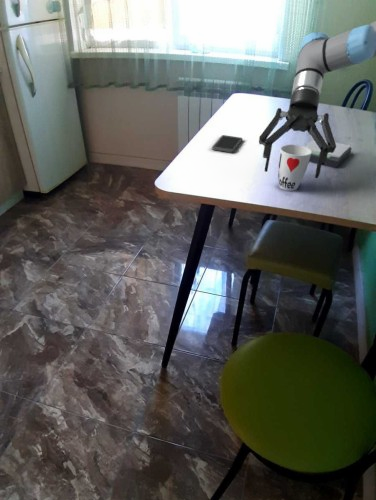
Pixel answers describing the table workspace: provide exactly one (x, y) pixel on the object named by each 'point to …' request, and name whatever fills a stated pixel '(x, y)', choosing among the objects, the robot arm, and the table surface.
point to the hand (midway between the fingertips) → (291, 172)
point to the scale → (332, 158)
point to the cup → (292, 166)
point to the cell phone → (227, 143)
